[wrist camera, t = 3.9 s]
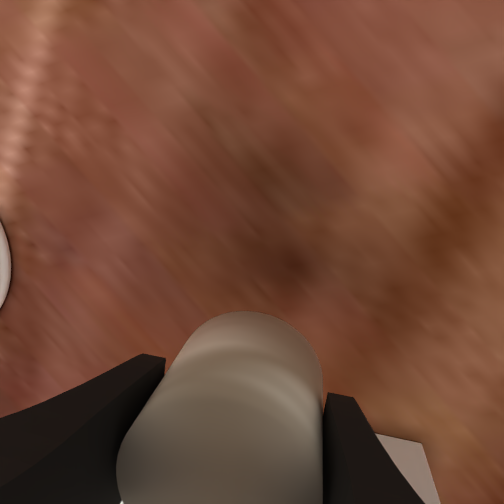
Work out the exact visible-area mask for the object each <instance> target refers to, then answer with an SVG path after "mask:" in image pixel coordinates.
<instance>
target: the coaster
mask: <svg viewBox="0 0 504 504" xmlns="http://www.w3.org/2000/svg"><path fill="white" fill-rule="evenodd" d="M10 278H11V258H10V251H9V246H8V241H7V238H6V235H5V232H4V229H3V226H2V224H1V222H0V308H1V306H2V304H3V302H4V300H5V298H6V295H7V292H8V289H9V284H10Z"/></svg>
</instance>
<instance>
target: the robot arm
mask: <svg viewBox="0 0 504 504" xmlns="http://www.w3.org/2000/svg"><path fill="white" fill-rule="evenodd" d="M165 362H166V358H162V357H157V356H152V355H148V354H140V355H138V356H136V357H134V358H132V359H130V360H128V361H126V362H124V363H122V364H120V365H118V366H117V367H115V368H113V369H111V370H109V371H107V372H105V373H103V374H101V375H99V376H97V377H95V378H93V379H91V380H89V381H87V382H85V383H83V384H81V385H79V386H77V387H75V388H73V389H71V390H68V391H66V392H64V393H62V394H60V395H57V396H55V397H53V398H51V399H49V400H46V401H44V402H42V403H39V404H37V405H35V406H32V407H30V408H27V409H24V410H22V411H19V412H16V413H13V414H11V415H8V416H5V417H2V418H0V504H120V503H121V502H122V499H121V496H120V493H119V489H118V484H117V478H116V464H117V457H118V452H119V449H120V446H121V443H122V441H123V439H124V437H125V435H126V433H127V432H128V430H129V429H130V427H131V426H132V424H133V423H134V421H135V420H136V418H137V417H138V415H139V414H140V412H141V411H142V409H143V408H144V406H145V404H146V403H147V401H148V400H149V398H150V397H151V395H152V394H153V392H154V391H155V389H156V388H157V386H158V385H159V383H160V382H161V380H162V378H163V377H164V372H165ZM323 504H425V503H424V501H423V500H422V499H421V498H420V497H419V495H418V494H417V493H416V492H415V490H414V489H413V488H412V486H411V485H410V484H409V482H408V481H407V480H406V478H405V477H404V476H403V475H402V473H401V472H400V470H399V469H398V468H397V466H396V465H395V463H394V462H393V460H392V459H391V457H390V456H389V454H388V453H387V451H386V450H385V448H384V447H383V445H382V444H381V442H380V441H379V439H378V437H377V436H376V434H375V433H374V431H373V429H372V428H371V426H370V424H369V423H368V421H367V419H366V417H365V416H364V414H363V412H362V410H361V409H360V407H359V405H358V404H357V402H356V400H355V399H354V398H353V397H348V396H343V395H339V394H334V393H329V392H328V395H327V399H326V404H325V409H324V413H323Z"/></svg>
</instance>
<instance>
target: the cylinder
mask: <svg viewBox="0 0 504 504" xmlns="http://www.w3.org/2000/svg"><path fill="white" fill-rule="evenodd" d="M116 478H117V484H118V489H119V493H120V496H121V499H122V502H123V504H323V375H322V369H321V366H320V362H319V359H318V357H317V355H316V353H315V351H314V349H313V348H312V346H311V345H310V343H309V342H308V341H307V340H306V338H305V337H304V336H303V335H302V334H301V333H300V332H299V331H297V330H296V329H295V328H294V327H292V326H291V325H289V324H288V323H286V322H284V321H283V320H281V319H279V318H276V317H274V316H271V315H268V314H264V313H260V312H253V311H236V312H229V313H225V314H221V315H219V316H216V317H214V318H212V319H210V320H208V321H207V322H205V323H204V324H202V325H201V326H200V327H198V328H197V329H196V330H195V331H194V332H193V333H192V335H191V336H190V338H189V339H188V340H187V342H186V343H185V345H184V346H183V348H182V349H181V351H180V353H179V354H178V356H177V357H176V359H175V360H174V362H173V363H172V365H171V366H170V368H169V369H168V371H167V372H166V374H165V375H164V377H163V378H162V380H161V382H160V383H159V385H158V386H157V388H156V389H155V391H154V392H153V394H152V395H151V397H150V398H149V400H148V401H147V403H146V404H145V406H144V408H143V409H142V411H141V412H140V414H139V415H138V417H137V418H136V420H135V421H134V423H133V424H132V426H131V427H130V429H129V430H128V432H127V433H126V435H125V437H124V439H123V441H122V443H121V446H120V449H119V452H118V457H117V464H116Z"/></svg>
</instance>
